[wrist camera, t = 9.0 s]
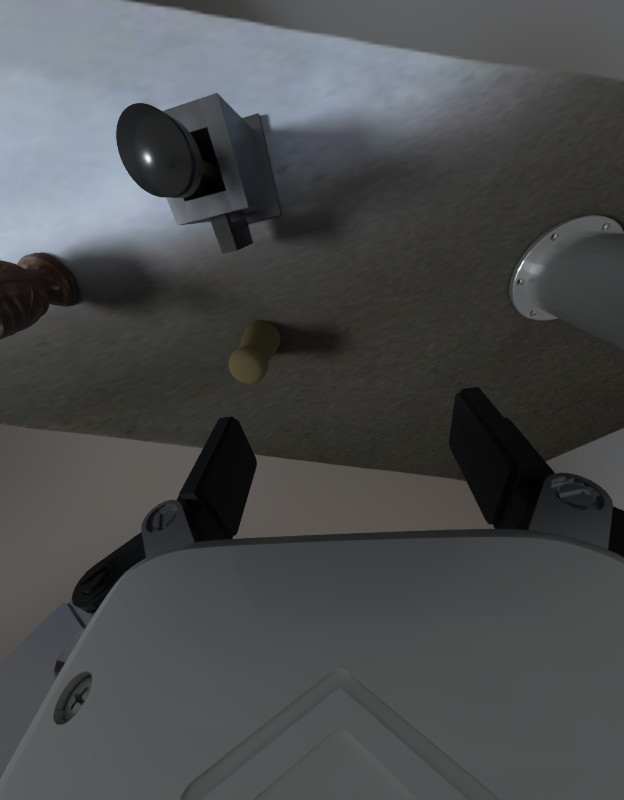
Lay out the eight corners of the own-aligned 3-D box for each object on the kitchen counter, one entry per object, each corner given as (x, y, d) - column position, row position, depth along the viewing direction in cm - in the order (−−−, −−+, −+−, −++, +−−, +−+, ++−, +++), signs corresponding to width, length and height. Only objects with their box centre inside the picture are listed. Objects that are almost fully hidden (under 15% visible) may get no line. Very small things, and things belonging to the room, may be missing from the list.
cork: (280, 321, 42) (267, 352, 33) (281, 356, 46) (269, 392, 37) (242, 318, 42) (218, 348, 33) (245, 353, 46) (225, 388, 37)
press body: (259, 115, 29) (224, 68, 19) (285, 234, 35) (269, 244, 25) (184, 138, 30) (115, 106, 20) (222, 248, 36) (183, 263, 27)
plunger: (237, 142, 27) (166, 92, 15) (251, 195, 30) (199, 188, 18) (198, 154, 28) (100, 115, 16) (215, 205, 30) (141, 204, 19)
